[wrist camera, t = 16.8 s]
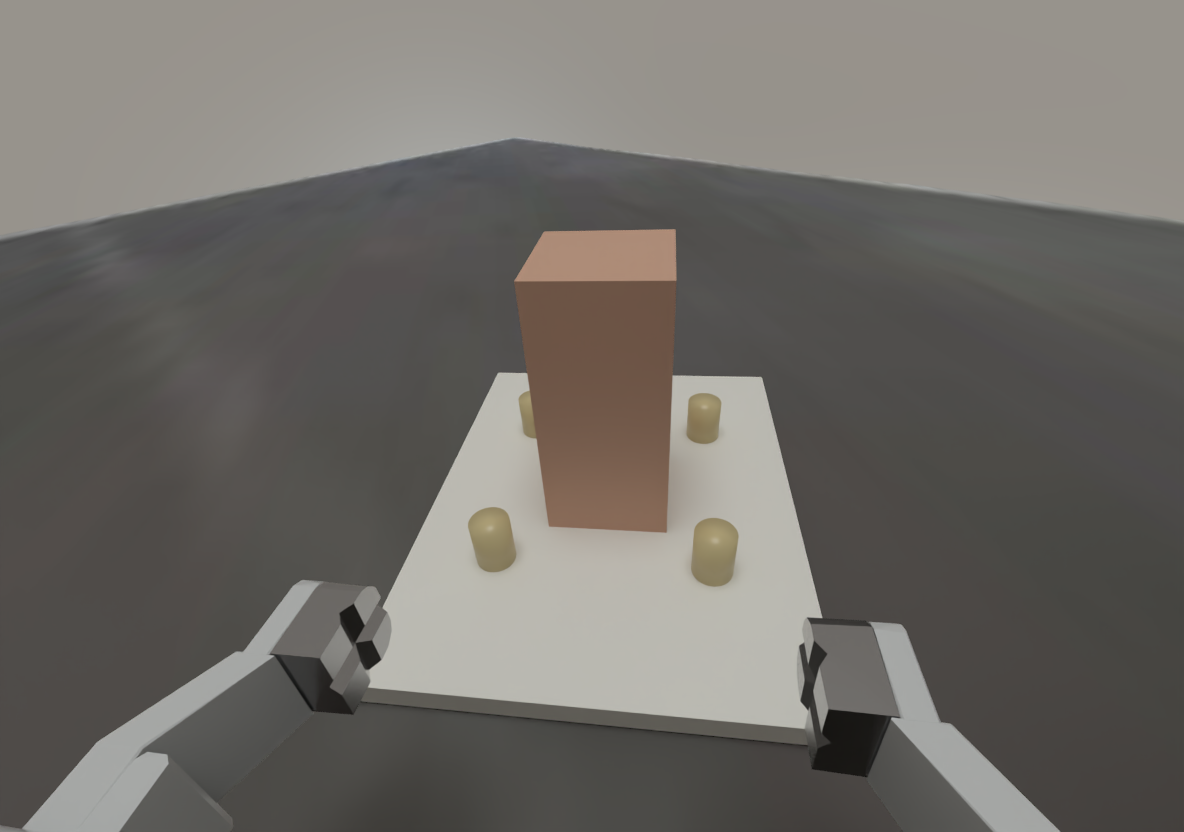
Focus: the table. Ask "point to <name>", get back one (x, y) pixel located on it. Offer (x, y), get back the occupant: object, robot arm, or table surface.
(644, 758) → the table surface
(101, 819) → the robot arm
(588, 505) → the terracotta block
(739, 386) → the mounting plate
